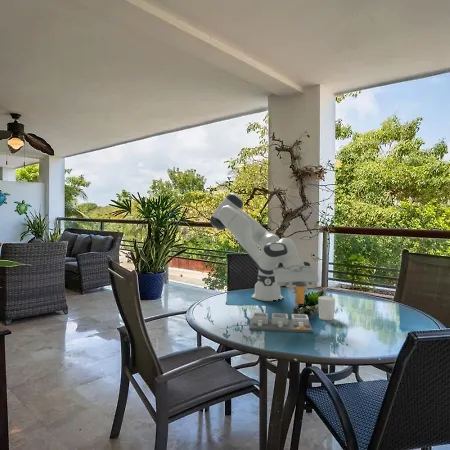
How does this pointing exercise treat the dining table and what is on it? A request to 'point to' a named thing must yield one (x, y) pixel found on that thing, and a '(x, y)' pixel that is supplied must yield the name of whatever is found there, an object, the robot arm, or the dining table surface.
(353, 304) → the dining table surface
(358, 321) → the dining table surface
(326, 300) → the white cup
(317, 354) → the dining table surface
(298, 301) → the orange capped bottle
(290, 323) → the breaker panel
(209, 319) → the dining table surface
